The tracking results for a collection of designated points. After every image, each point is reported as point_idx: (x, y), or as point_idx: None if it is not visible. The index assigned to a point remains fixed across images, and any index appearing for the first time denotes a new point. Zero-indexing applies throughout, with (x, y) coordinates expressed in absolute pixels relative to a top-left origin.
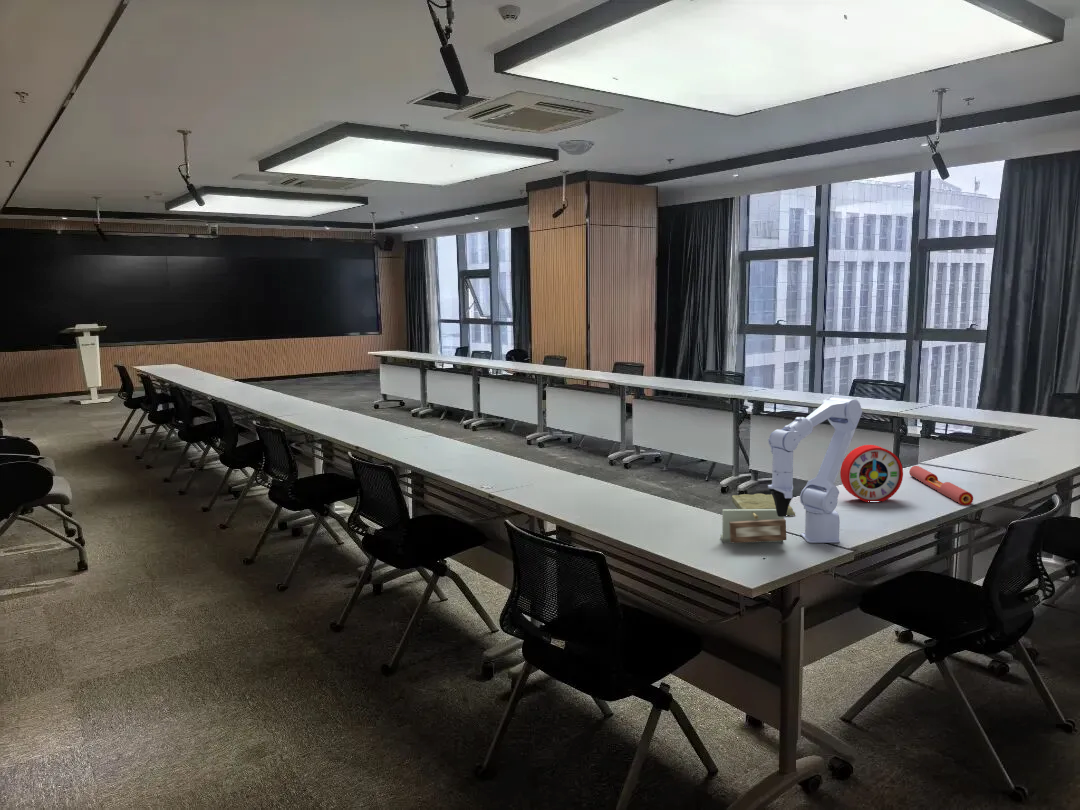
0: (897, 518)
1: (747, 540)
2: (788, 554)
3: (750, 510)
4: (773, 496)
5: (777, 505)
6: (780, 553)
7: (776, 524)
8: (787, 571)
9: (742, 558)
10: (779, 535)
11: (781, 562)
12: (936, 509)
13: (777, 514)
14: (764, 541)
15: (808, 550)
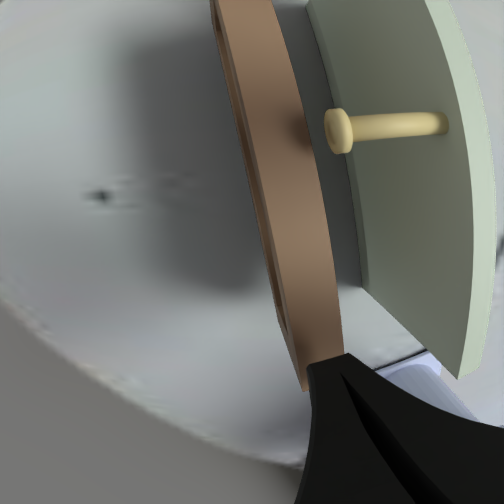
0: None
1: (230, 97)
2: (188, 308)
3: (455, 90)
4: (461, 492)
5: (307, 456)
6: (192, 274)
7: (285, 311)
8: (6, 289)
9: (83, 100)
10: (275, 297)
11: (75, 274)
12: None
13: (341, 360)
14: (353, 200)
15: (265, 381)
